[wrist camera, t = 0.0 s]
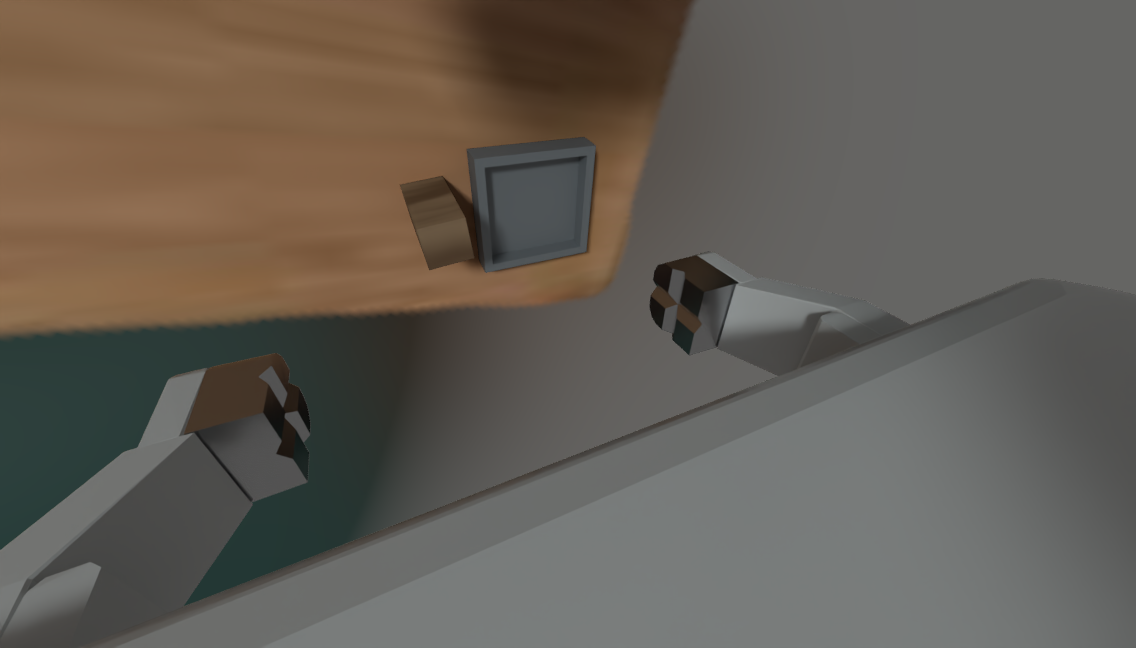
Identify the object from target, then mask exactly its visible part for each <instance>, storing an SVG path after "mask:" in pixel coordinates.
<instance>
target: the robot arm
mask: <svg viewBox="0 0 1136 648" xmlns="http://www.w3.org/2000/svg"><path fill="white" fill-rule="evenodd" d="M653 281H654V282H655V284H656V286H657V287H656V289H655V290H654V291H653V293H652V295H651V298H650V311H651V315H652V318H653V320H654V321H655V323H656V324H657V325H658V326H659V327H660V328H661V329H662V330H665V331H667V332H670V333H672V337H673V338H672V339H673V341H674V342H675V343H676V344H677V345H679V346H680V347H681V348H682V349H683V350H684V351H685V352H686V353H687V354H688V355H693V354H696V353H699V352H703V351H706V350H709V349H713V348H716V347H718V348H717V349H719V350H721V351H724V352H726V353H728V354H731V355H733V356H735V357H737V358H739V359H742V360H744V361H746V362H748V363H750V364H753V365H755V366H757V367H759V368H762V369H764V370H766V371H768V372H771V373H773V374H775V375H777V377H775V378H772V379H770V380H767V381H765V382H762V383H760V384H757V385H754V386H752V387H749V388H746V389H744V390H741V391H739V392H736V393H733V394H731V395H729V396H726V397H723V398H721V399H718V400H715V401H713V402H710V403H708V404H705V405H703V406H700V407H698V408H695V409H692V410H689V411H687V412H684V413H682V414H679V415H677V416H674V417H672V418H669V419H666V420H664V421H661V422H658V423H656V424H653V425H651V426H648V427H646V428H643V429H640V430H638V431H635V432H633V433H630V434H628V435H625V436H622V437H620V438H618V439H615V440H612V441H610V442H607V443H605V444H602V445H599V446H597V447H594V448H592V449H589V450H586V451H584V452H581V453H579V454H576V455H573V456H571V457H568V458H566V459H563V460H561V461H558V462H555V463H553V464H550V465H548V466H545V467H542V468H540V469H537V470H535V471H532V472H530V473H527V474H524V475H522V476H519V477H517V478H514V479H512V480H509V481H507V482H504V483H501V484H499V485H496V486H493V487H491V488H488V489H486V490H483V491H481V492H478V493H475V494H473V495H470V496H468V497H465V498H463V499H460V500H457V501H455V502H452V503H450V504H447V505H445V506H442V507H439V508H437V509H434V510H432V511H429V512H427V513H424V514H421V515H419V516H416V517H414V518H411V519H408V520H406V521H403V522H401V523H398V524H396V525H393V526H390V527H388V528H385V529H383V530H380V531H377V532H375V533H373V534H370V535H367V536H365V537H362V538H360V539H357V540H354V541H352V542H349V543H347V544H344V545H341V546H339V547H336V548H334V549H331V550H329V551H326V552H323V553H321V554H318V555H316V556H313V557H310V558H308V559H305V560H303V561H300V562H298V563H295V564H292V565H290V566H287V567H285V568H282V569H279V570H277V571H274V572H272V573H269V574H267V575H264V576H262V577H259V578H256V579H254V580H251V581H249V582H246V583H243V584H241V585H238V586H236V587H233V588H230V589H228V590H225V591H223V592H220V593H218V594H215V595H213V596H210V597H208V598H205V599H202V600H200V601H197V602H194V603H192V604H189V605H187V606H184V607H183V605H184V604H185V603H186V601H187V600H188V598H189V597H190V595H191V594H192V592H193V591H194V590H195V588H196V587H197V585H198V584H199V582H200V581H201V579H202V578H203V577H204V575H205V574H206V572H207V571H208V569H209V568H210V566H211V565H212V563H213V562H214V561H215V559H216V558H217V556H218V555H219V553H220V551H221V550H222V549H223V547H224V546H225V544H226V543H227V542H228V540H229V539H230V537H231V536H232V534H233V533H234V531H235V530H236V528H237V527H238V525H239V524H240V523H241V521H242V520H243V518H244V517H245V515H246V514H247V512H248V511H249V509H250V508H251V506H252V505H253V504H252V503H251V502H254V501H256V500H259V499H262V498H265V497H268V496H270V495H273V494H276V493H279V492H282V491H285V490H287V489H290V488H293V487H296V486H298V485H301V484H304V483H307V482H308V467H309V451H308V450H307V448H306V446H305V445H304V443H303V442H304V441H305V440H306V439H307V438H308V436H309V435H310V417H309V411H308V407H307V404H306V401H305V398H304V396H303V394H302V392H301V390H300V388H299V387H297V386H295V385H292V384H290V383H289V373H290V370H289V368H288V366H287V364H286V363H285V361H284V359H283V357H282V356H280V355H279V354H277V353H275V354H270V355H266V356H261V357H256V358H251V359H247V360H242V361H237V362H233V363H228V364H223V365H219V366H215V367H211V368H205V369H200V370H196V371H192V372H188V373H183V374H179V375H176V376H174V377H172V378H170V379H169V380H168V381H167V384H166V386H165V388H164V391H163V393H162V395H161V397H160V399H159V401H158V404H157V406H156V408H155V410H154V412H153V415H152V417H151V419H150V421H149V424H148V426H147V428H146V430H145V432H144V435H143V437H142V439H141V441H140V444H139V446H138V448H136V449H132V450H128V451H125V452H124V453H122V454H121V455H120V456H119V457H117V458H116V459H115V460H113V461H112V462H111V463H110V464H108V465H107V466H106V467H105V468H103V469H102V470H101V471H100V472H98V473H97V474H96V475H95V476H93V477H92V478H91V479H90V480H89V481H87V482H86V483H85V484H83V486H81V487H80V488H78V489H77V490H76V491H75V492H73V493H72V494H71V495H70V496H68V497H67V498H66V499H65V500H63V501H62V502H61V503H60V504H58V505H57V506H56V507H54V508H53V509H52V510H51V511H49V512H48V513H47V514H46V515H44V516H43V517H42V518H41V519H39V520H38V521H37V522H36V523H34V524H33V525H32V526H30V527H29V528H28V529H27V530H25V531H24V532H23V533H22V534H20V535H19V536H18V537H17V538H15V539H14V540H13V541H12V542H10V543H9V544H8V545H7V546H5V547H4V548H3V549H2V550H0V648H1136V295H1135V294H1131V293H1126V292H1123V291H1117V290H1113V289H1107V288H1103V287H1097V286H1091V285H1086V284H1080V283H1073V282H1067V281H1061V280H1055V279H1044V278H1039V279H1030V280H1026V281H1023V282H1019V283H1016V284H1014V285H1011V286H1009V287H1007V288H1004V289H1002V290H999V291H997V292H994V293H992V294H989V295H986V296H984V297H981V298H978V299H976V300H973V301H971V302H968V303H966V304H963V305H960V306H958V307H955V308H953V309H950V310H948V311H945V312H942V313H940V314H937V315H935V316H932V317H929V318H927V319H925V320H922V321H919V322H917V323H914V324H911V325H910V324H908V323H906V322H904V321H902V320H901V319H899V318H897V317H895V316H893V315H891V314H889V313H888V312H886V311H884V310H882V309H880V308H878V307H876V306H875V305H873V304H871V303H869V302H867V301H865V300H862V299H857V298H853V297H848V296H844V295H839V294H835V293H830V292H826V291H821V290H817V289H812V288H808V287H803V286H799V285H794V284H790V283H785V282H781V281H776V280H772V279H767V278H763V277H761V278H756V277H754V276H752V275H751V274H749V273H747V272H746V271H744V270H743V269H741V268H739V267H738V266H736V265H734V264H733V263H731V262H729V261H728V260H726V259H725V258H723V257H721V256H720V255H718V254H717V253H715V252H704V253H700V254H697V255H693V256H691V257H687V258H683V259H679V260H675V261H671V262H667V263H664V264H660V265H658V266H657V267H656V270H655V271H654V277H653Z"/></svg>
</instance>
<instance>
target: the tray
mask: <svg viewBox="0 0 1136 648" xmlns="http://www.w3.org/2000/svg"><path fill="white" fill-rule="evenodd" d="M595 149H596V145H594V144H593V143H592V142H590V141H589V140H588V139H586V138H585V137H580V138H570V139H560V140H550V141H541V142H531V143H521V144H511V145H501V146H492V147H482V148H472V149H467V156H468V165H469V174H470V183H471V192H472V201H473V210H474V219H475V228H476V237H477V246H478V255H479V261H480V263H481V265H482V267H483V269H484V270H485V272H486V273H487V272H491V271H496V270H501V269H506V268H511V267H515V266H520V265H525V264H530V263H535V262H540V261H544V260H549V259H554V258H559V257H564V256H569V255H573V254H578V253H583V252H586V249H587V238H588V227H589V216H590V205H591V194H592V183H593V171H594V160H595Z"/></svg>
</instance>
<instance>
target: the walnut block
mask: <svg viewBox="0 0 1136 648" xmlns="http://www.w3.org/2000/svg"><path fill="white" fill-rule="evenodd" d="M400 187H401V190H402V193H403V196H404V199H405V202H406V205H407V208H408V211H409V214H410V217H411V220H412V223H413V226H414V229H415V232H416V234H417V237H418V240H419V243H420V245H421V248H422V251H423V254H424V257H425V259H426V262H427V265H428V268H429V270H432V269H436V268H439V267H443V266H447V265H450V264H454V263H458V262H462V261H465V260H469V259H473V258H474V253H473V249H472V245H471V240H470V236H469V231H468V227H467V222H466V218H465V216H464V214H463V212H462V211H461V209H460V207H459V205H458V203H457V202H456V200H455V198H454V196H453V194H452V193H451V191H450V189H449V187H448V185H447V183H446V182H445V180H444V178H443V176H440V177H435V178H430V179H425V180H420V181H416V182H411V183H406V184H401V185H400Z"/></svg>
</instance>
